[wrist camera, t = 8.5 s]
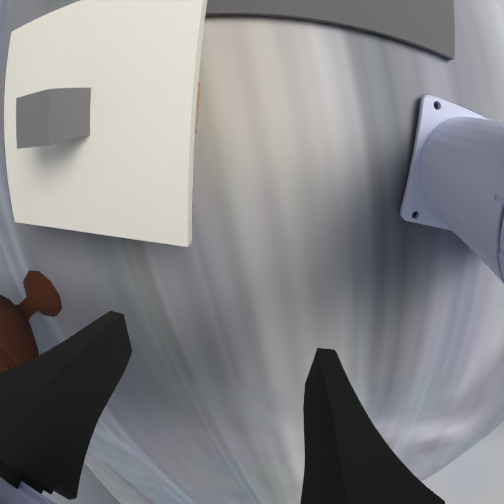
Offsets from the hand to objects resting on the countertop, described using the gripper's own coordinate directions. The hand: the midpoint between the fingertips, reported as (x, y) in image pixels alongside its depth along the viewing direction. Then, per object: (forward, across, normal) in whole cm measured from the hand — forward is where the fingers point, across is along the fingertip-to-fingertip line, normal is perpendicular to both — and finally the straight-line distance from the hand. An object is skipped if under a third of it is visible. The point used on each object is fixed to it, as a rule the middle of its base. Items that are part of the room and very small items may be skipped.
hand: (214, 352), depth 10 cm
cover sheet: (+5, +9, -8) cm, 13 cm away
